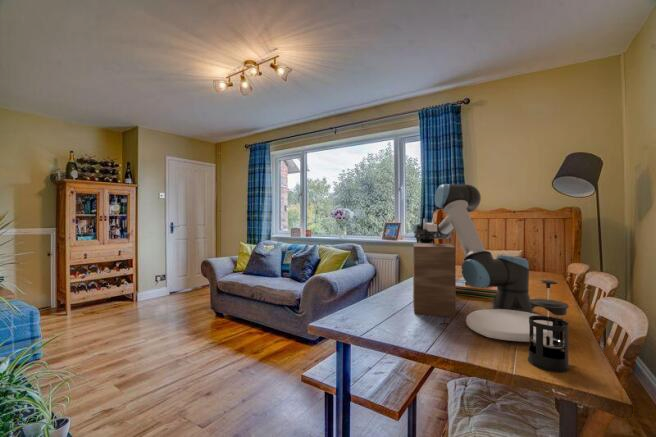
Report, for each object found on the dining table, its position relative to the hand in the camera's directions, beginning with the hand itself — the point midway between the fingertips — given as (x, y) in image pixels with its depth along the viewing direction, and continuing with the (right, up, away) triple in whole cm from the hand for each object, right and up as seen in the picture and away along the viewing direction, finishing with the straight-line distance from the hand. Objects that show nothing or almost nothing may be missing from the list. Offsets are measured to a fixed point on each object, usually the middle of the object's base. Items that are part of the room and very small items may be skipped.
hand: (428, 220), depth 157 cm
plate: (+13, -39, -47) cm, 62 cm away
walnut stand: (-5, -38, -21) cm, 44 cm away
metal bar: (-1, -4, -6) cm, 8 cm away
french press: (+10, -39, -71) cm, 81 cm away
